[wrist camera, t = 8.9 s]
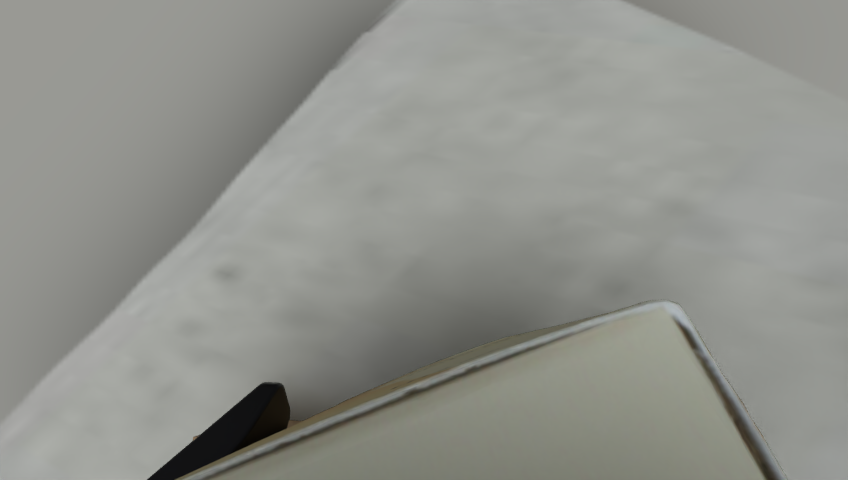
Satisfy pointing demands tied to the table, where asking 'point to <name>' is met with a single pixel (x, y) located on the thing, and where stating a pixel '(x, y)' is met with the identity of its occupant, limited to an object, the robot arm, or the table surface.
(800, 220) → the table surface
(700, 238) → the table surface
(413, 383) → the skincare box
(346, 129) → the table surface
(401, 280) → the table surface
